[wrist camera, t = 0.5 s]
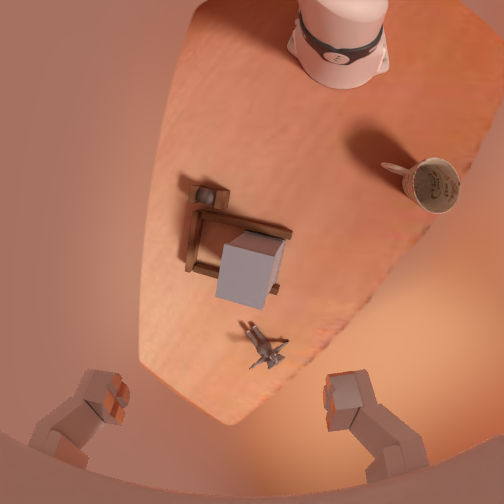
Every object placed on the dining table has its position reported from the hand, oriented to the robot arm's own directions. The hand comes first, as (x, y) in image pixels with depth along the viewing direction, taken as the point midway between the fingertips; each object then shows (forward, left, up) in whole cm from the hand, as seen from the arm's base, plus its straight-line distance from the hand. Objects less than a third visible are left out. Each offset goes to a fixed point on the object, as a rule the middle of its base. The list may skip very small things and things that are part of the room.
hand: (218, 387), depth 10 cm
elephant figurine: (+26, -1, -43) cm, 50 cm away
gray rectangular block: (+8, -6, -43) cm, 44 cm away
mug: (-12, +17, -43) cm, 48 cm away
